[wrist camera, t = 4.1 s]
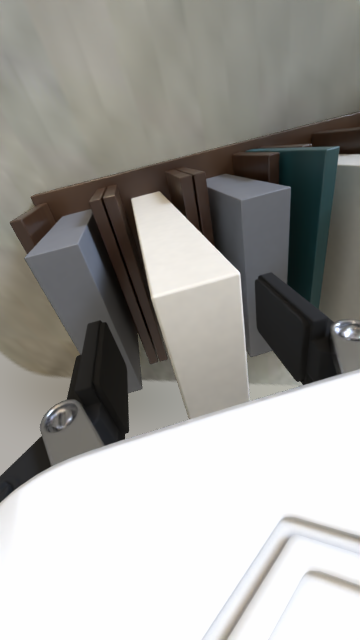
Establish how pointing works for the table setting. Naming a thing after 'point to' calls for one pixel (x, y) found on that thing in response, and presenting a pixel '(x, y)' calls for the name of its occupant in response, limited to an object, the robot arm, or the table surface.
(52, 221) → the book rack
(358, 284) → the white book
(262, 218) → the grey book
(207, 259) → the white book
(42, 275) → the grey book
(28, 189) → the table surface
